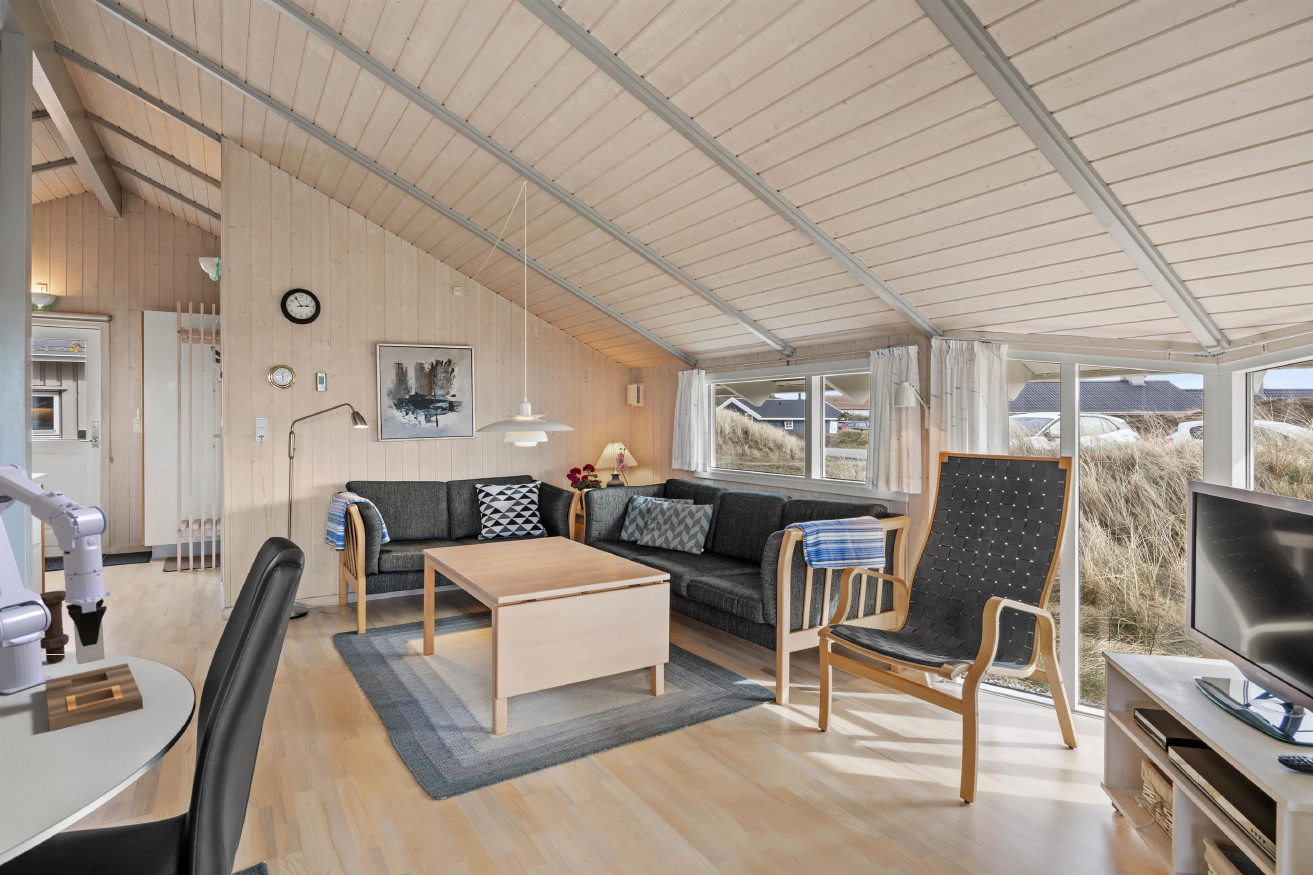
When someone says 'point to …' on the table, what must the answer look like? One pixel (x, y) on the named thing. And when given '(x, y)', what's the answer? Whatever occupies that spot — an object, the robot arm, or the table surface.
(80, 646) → the steel peg
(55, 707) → the wooden peg hole board
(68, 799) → the table surface
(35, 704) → the table surface
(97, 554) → the robot arm
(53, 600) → the bolt
